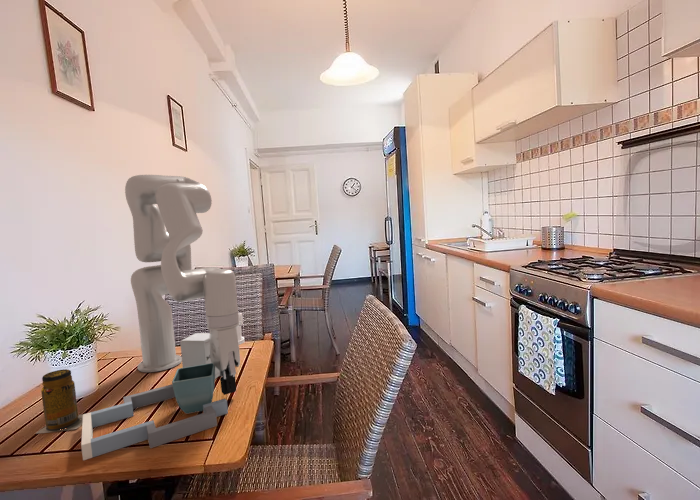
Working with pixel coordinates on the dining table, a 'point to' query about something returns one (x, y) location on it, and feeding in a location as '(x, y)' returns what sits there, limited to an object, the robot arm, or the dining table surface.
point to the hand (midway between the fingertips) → (229, 392)
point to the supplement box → (196, 351)
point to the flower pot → (194, 387)
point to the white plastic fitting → (240, 338)
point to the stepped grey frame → (147, 429)
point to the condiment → (59, 402)
